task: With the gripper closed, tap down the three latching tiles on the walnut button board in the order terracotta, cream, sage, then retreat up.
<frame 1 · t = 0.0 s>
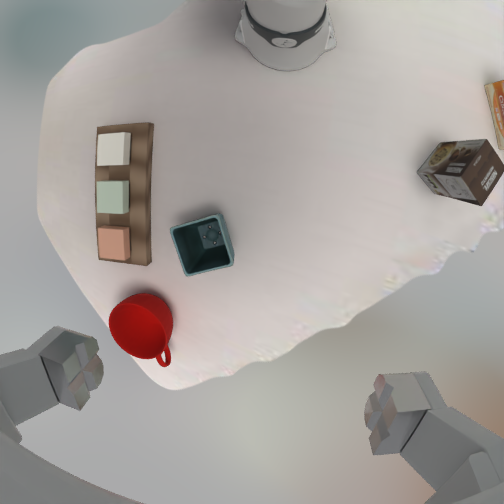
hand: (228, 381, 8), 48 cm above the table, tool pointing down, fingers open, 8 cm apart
ceramic cup: (159, 316, 63), on the table
button board: (124, 193, 56), on the table
coffee box: (437, 167, 48), on the table
flower pot: (213, 233, 57), on the table
terracotta tile: (117, 240, 55), point 4 cm above the table, slide at 0.0 cm
coffeecake box: (500, 117, 42), on the table
sage tile: (115, 195, 52), point 4 cm above the table, slide at 0.0 cm
cream tile: (116, 149, 50), point 4 cm above the table, slide at 0.0 cm
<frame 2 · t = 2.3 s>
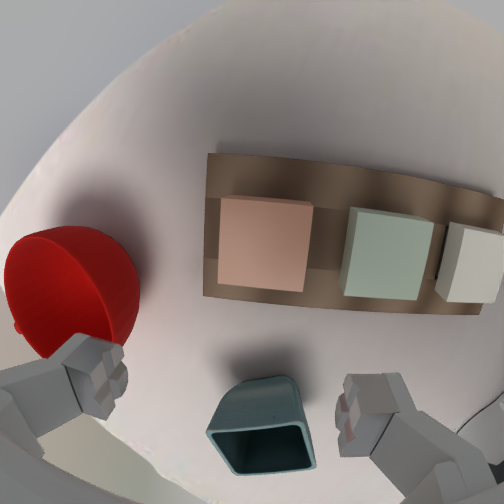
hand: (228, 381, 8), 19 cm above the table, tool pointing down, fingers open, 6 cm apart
ceramic cup: (97, 276, 29), on the table
button board: (368, 237, 25), on the table
flower pot: (270, 392, 32), on the table
terracotta tile: (265, 237, 22), point 4 cm above the table, slide at 0.0 cm
sage tile: (380, 249, 22), point 4 cm above the table, slide at 0.0 cm
cream tile: (467, 259, 21), point 4 cm above the table, slide at 0.0 cm
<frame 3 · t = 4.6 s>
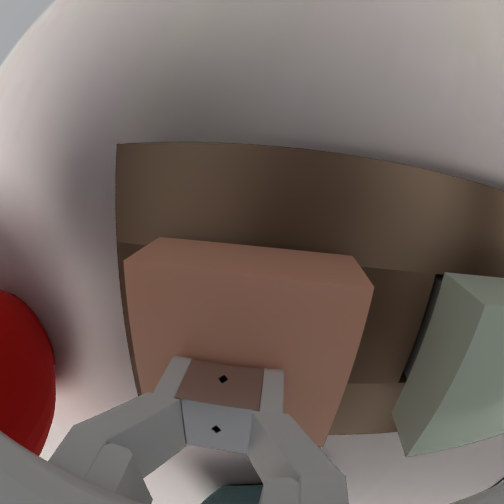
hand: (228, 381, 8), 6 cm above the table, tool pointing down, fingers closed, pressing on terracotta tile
ceramic cup: (14, 338, 16), on the table
button board: (440, 307, 12), on the table
flower pot: (261, 493, 18), on the table
terracotta tile: (247, 331, 10), point 3 cm above the table, slide at -0.7 cm, touching gripper
sage tile: (477, 349, 8), point 4 cm above the table, slide at 0.0 cm
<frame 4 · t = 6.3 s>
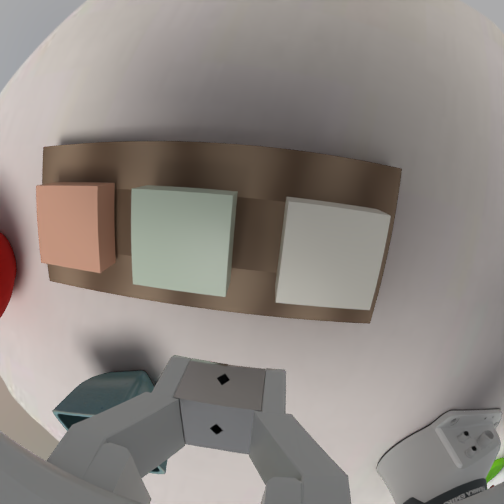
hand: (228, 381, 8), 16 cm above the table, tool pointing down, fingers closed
button board: (200, 222, 23), on the table
flower pot: (137, 387, 29), on the table
terracotta tile: (83, 220, 20), point 3 cm above the table, slide at -0.8 cm
sage tile: (188, 233, 19), point 4 cm above the table, slide at 0.0 cm
cream tile: (326, 248, 19), point 4 cm above the table, slide at 0.0 cm
wineglass: (478, 478, 37), on the table
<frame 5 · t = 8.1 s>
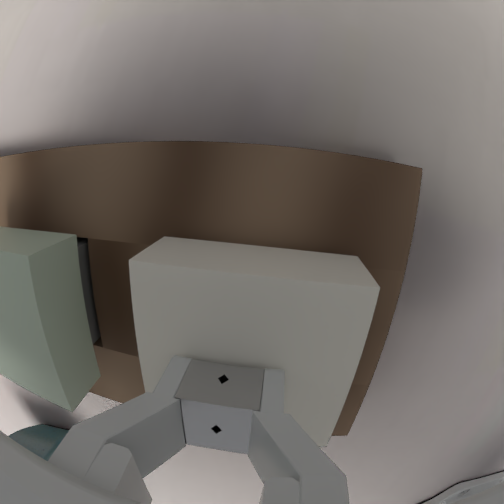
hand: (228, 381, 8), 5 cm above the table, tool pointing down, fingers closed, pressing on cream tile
button board: (82, 269, 13), on the table
flower pot: (73, 443, 20), on the table
sage tile: (35, 299, 10), point 4 cm above the table, slide at 0.0 cm
cream tile: (251, 331, 10), point 3 cm above the table, slide at -0.8 cm, touching gripper
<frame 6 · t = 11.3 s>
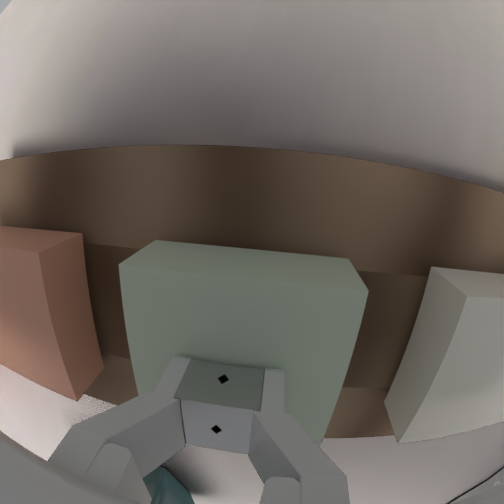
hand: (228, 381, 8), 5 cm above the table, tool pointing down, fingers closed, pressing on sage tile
button board: (252, 297, 13), on the table
flower pot: (156, 476, 19), on the table
terracotta tile: (41, 295, 11), point 3 cm above the table, slide at -0.8 cm
sage tile: (243, 333, 10), point 3 cm above the table, slide at -0.9 cm, touching gripper
cream tile: (466, 341, 9), point 3 cm above the table, slide at -0.9 cm
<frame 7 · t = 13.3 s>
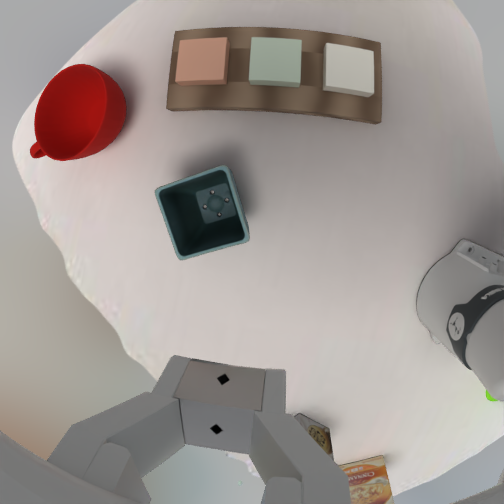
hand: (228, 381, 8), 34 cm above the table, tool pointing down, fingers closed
ceramic cup: (97, 125, 38), on the table
button board: (275, 71, 34), on the table
coffee box: (304, 427, 52), on the table
flower pot: (217, 203, 41), on the table
terracotta tile: (205, 64, 32), point 3 cm above the table, slide at -0.8 cm
coffeecake box: (353, 467, 56), on the table
sage tile: (275, 64, 32), point 3 cm above the table, slide at -0.9 cm
cream tile: (346, 72, 31), point 3 cm above the table, slide at -0.9 cm
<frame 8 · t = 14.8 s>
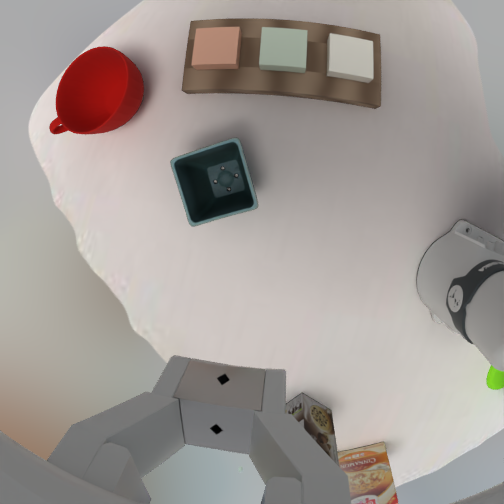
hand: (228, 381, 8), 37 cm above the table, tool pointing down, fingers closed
ceramic cup: (114, 106, 41), on the table
button board: (283, 59, 36), on the table
coffee box: (306, 409, 54), on the table
flower pot: (227, 178, 43), on the table
terracotta tile: (219, 51, 34), point 3 cm above the table, slide at -0.8 cm
coffeecake box: (354, 454, 58), on the table
sage tile: (283, 52, 34), point 3 cm above the table, slide at -0.9 cm
cream tile: (348, 60, 33), point 3 cm above the table, slide at -0.9 cm
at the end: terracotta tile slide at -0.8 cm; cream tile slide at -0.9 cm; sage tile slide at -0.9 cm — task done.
